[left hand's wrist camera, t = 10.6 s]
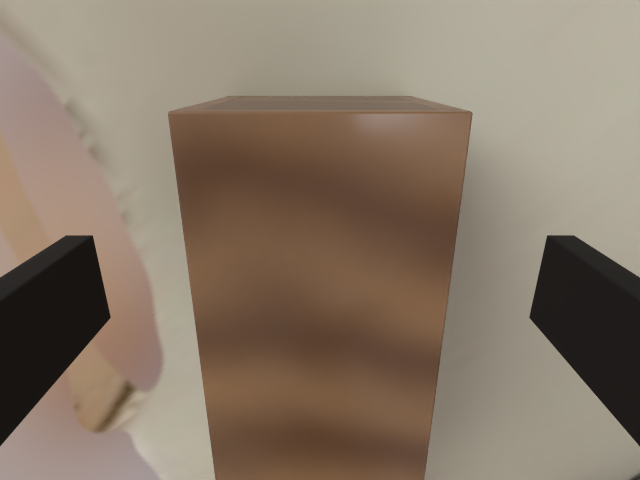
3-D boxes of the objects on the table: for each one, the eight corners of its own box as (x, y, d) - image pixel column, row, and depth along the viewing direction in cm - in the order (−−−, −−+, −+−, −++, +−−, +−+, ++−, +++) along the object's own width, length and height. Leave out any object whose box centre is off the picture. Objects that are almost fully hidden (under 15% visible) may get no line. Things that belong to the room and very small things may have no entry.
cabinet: (390, 376, 34) (420, 509, 24) (249, 376, 34) (218, 508, 24) (412, 96, 26) (473, 111, 16) (227, 96, 26) (166, 111, 16)
